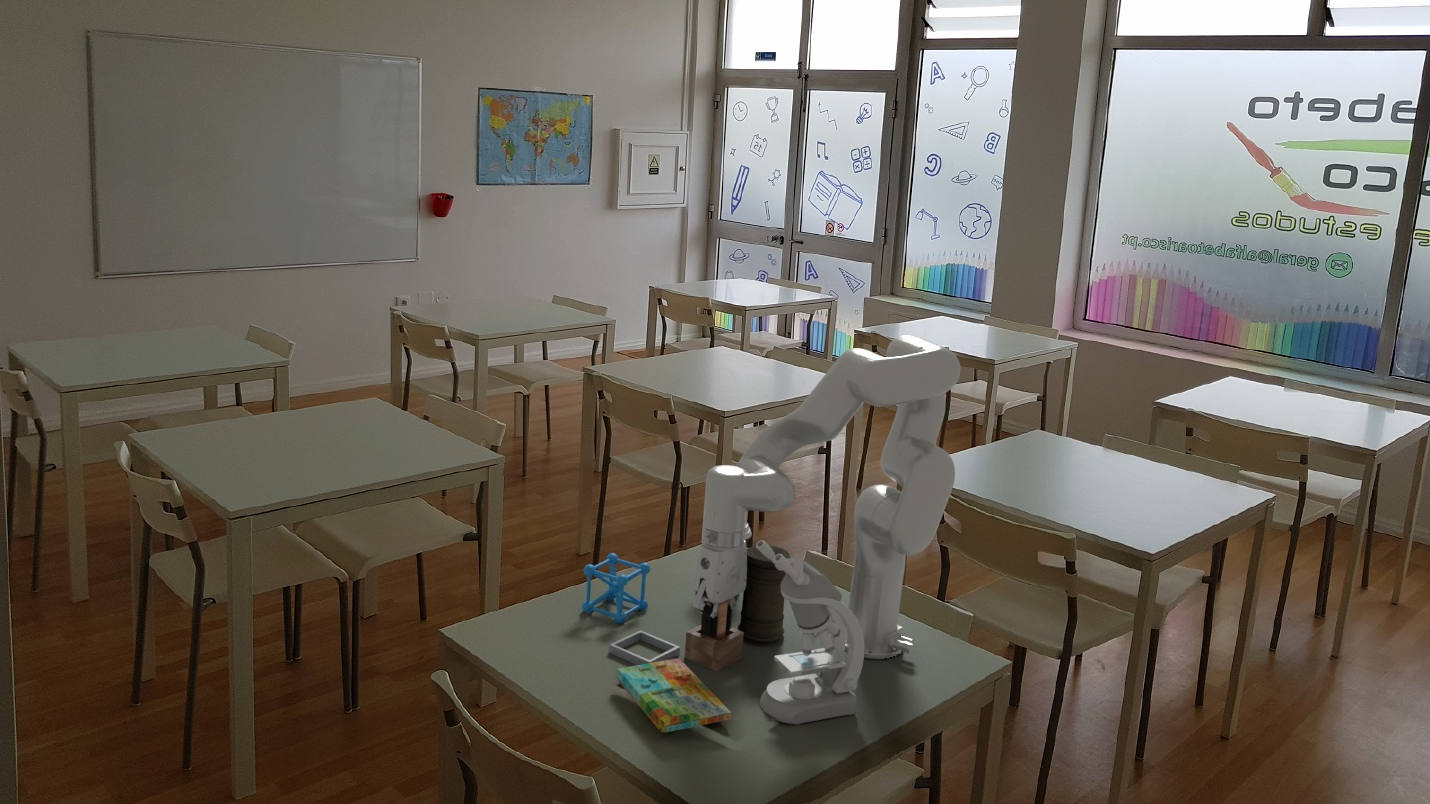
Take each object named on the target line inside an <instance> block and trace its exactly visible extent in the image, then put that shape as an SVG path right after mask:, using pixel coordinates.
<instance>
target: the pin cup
mask: <svg viewBox="0 0 1430 804" xmlns="http://www.w3.org/2000/svg"><path fill="white" fill-rule="evenodd" d="M743 636H744V632H742V631H739V630H738V628H734V627H732V626H731V629H730V630H728V631H727V630H726V631H725V637H724V638H723V639H721V640H719V641H717V640H715V639H712V638H710V637H707V636H706V635H705V634H702V633H701V624H699V625H698V626H694V627H693V628H692V629H689V630H687V631H686V634H685V647H684V658H685V659H688V660H689V661H692V662H694V663H696V664H699V665H701V666H703V667H705V668H708V669H711V670H713V671H715V672H719V671H720V670H722V669H724V668H726V667H728V666H730V665H731V664H734V663H735V662H737V661H738V660H741V659H742V656H743V647H744V646H743V645H744V642H743Z"/></svg>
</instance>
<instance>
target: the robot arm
mask: <svg viewBox="0 0 1430 804" xmlns="http://www.w3.org/2000/svg"><path fill="white" fill-rule="evenodd" d="M885 354H886V355H885V356H886V357H884V356H882V355H881V354H878V353H876V352H873V351H871V350H868V349H866V348H865V349H864V348H850V349H848V350H845V351H844V352H843V353H842V354H841V355H839V357H838V358H837V359H836V361H834V363H833V364H832V365H831V367H830V368H828V370H827V372H826V373H825V374H824V375H823V377H822V378H821V379H820V380H819V382H818V383H817V384H816V385H815V387H814V388H813V389H812V391H811V392H810V393H809V394H808V396H807V397H806V398H805V399H804V401H802V403H801V404H800V406H798V407H797V408H796V409H795V410H794V411H792V412H790V413H788V414H787V415H785V416H783V417H782V418H780V419H779V420H777V421H776V422H774V423H772V424H771V425H769V426H768V427H767V428H765V429H764V430H763V431H762V432H761V433H760V434H759V435H757V437H756V438H755V439H754V440H753V442H752V443H751V444H750V445H749V446H748V447H747V449H746V450H745V452H744V453H743V454H742V456H741V457H740V459H739V460H738V461H737V463H736V465H732V464H731V465H730V464H729V465H728V464H721V465H715V466H713V467H711V468H710V469H709V470H708V472H707V474H706V480H705V490H704V491H705V493H704V501H703V503H704V505H703V515H702V516H703V518H702V533H701V545H700V550H699V552H698V558H697V563H696V570H695V578H694V579H695V580H694V595H695V597H694V600H693V602H692V607H694V608H695V609H698V610H699V612H700V614H701V622H700V623H701V624H700V625H701V633H702V634H705V635H707V636H710V637H712V638H715V637H716V636H717V627H718V617H717V616H716V613H717V607H718V604H720V603H722V602H724V601H726V600H727V601H728V606H727V619H726V630H727V631H728V630H730V629H731V627H732V618H733V617H732V616H733V609H734V608H735V606H736V602H735V601H736V599H737V598H738V595H740V594H742V593H743V592H744V590H745V588H746V581H747V549H748V548H747V549H746V542H745V540H744V538H745V526H746V522H747V513H748V512H747V511H756V512H762V513H763V512H764V513H778V512H779V513H780V512H782V511H784V510H786V509H787V508H789V507H790V506H792V504H793V503H794V501H795V499H796V495H797V488H796V485H795V483H794V481H793V480H792V478H791V477H790V476H789V475H788V474H787V473H785V471H782V470H781V469H780V467H781V466H782V464H783V463H784V462H785V461H786V460H787V459H788V458H789V457H790V456H791V455H793V453H794V452H797V451H798V450H799V449H801V448H803V447H805V446H809V445H813V444H819V443H825V442H829V441H832V440H834V439H836V438H837V437H838V436H839V435H840V434H841V432H842V431H843V429H844V428H846V426H847V425H848V423H849V422H850V421H851V420H852V419H853V417H854V416H855V415H856V413H857V412H858V411H859V410H860V408H861V407H862V406H863V405H864V403H866V404H868V405H870V406H873V407H891V406H896V405H898V406H897V408H896V409H897V410H896V413H895V416H894V419H893V421H892V424H891V427H890V431H889V433H888V435H887V439H886V442H885V444H884V445H883V449H882V453H881V456H880V468H881V470H882V472H883V474H884V475H885V476H887V477H888V478H889V479H890V480H892V481H893V482H895V483H896V484H897V485H899V486H901V487H902V490H901V491H900V490H899V489H897V488H895V487H893V486H890V485H888V484H874V485H871V486H869V487H867V488H866V489H865V490H863V491H862V492H861V494H860V495H859V497H858V498H857V500H856V503H855V507H854V530H855V532H854V533H855V545H854V557H853V558H854V559H853V565H852V567H853V568H852V576H851V583H850V593H849V602H848V608H849V609H850V610H851V611H852V613H853V614H854V616H855V617H856V619H857V621H858V623H859V625H860V627H861V630H862V633H863V638H864V658H865V659H871V660H884V659H885V658H887V659H891V658H890V657H892V658H894V657H893V656H895V655H897V654H899V655H900V654H902V652H903V653H906V654H909V655H911V654H912V653H913V651H914V649H915V645H914V642H915V640H914V639H913V638H911V637H907V636H904V635H903V633H902V632H903V626H901V625H899V615H900V609H901V607H900V606H901V599H902V592H903V582H904V574H905V568H906V556H916V555H917V554H920V553H922V552H923V551H924V550H926V548H927V547H928V546H929V545H930V544H931V542H932V540H933V539H934V537H935V535H936V532H937V531H938V528H939V525H940V523H941V520H942V517H943V514H944V511H945V509H946V507H947V504H948V502H949V499H950V496H951V494H952V490H953V487H954V484H955V479H956V468H955V464H954V460H953V458H952V457H951V455H950V454H949V452H947V451H946V450H945V449H944V448H941V447H940V446H938V445H937V441H938V437H939V433H940V431H941V429H942V428H941V427H942V425H943V421H944V417H945V414H946V403H947V402H946V393H947V392H949V391H950V390H951V389H953V388H954V387H955V385H956V384H957V383H958V381H959V379H960V377H961V376H960V375H961V369H962V368H961V364H960V361H959V359H958V357H957V355H956V353H954V352H952V351H951V350H949V348H946V347H944V346H942V345H940V344H939V345H938V344H936V343H934V342H931V341H929V340H926V339H924V338H922V337H918V336H915V335H910V334H903V335H898V336H896V337H894V338H893V339H892V340H891V341H890V343H889V344H888V347H887V348H886V353H885ZM708 602H709V603H712V606H711V607H710V606H709V605H708ZM848 650H849V637H848V633H847V630H846V644H845V650H844V652H847V653H848ZM901 651H902V652H901ZM897 656H898V655H897ZM895 657H896V656H895ZM885 660H886V659H885Z"/></svg>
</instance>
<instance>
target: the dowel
mask: <svg viewBox="0 0 1430 804" xmlns="http://www.w3.org/2000/svg"><path fill="white" fill-rule="evenodd" d="M707 605H709V606H710V607H711V606H712V603H709V602H708V604H707ZM727 606H728V601H727V600H726V601H724V602H722V603H720V604H718V607H717V613H716V616H717V617H718V627H717V636H716V637H715V638H712V637H710V636H707V635H706V636H707V637H710V638H712V639H715V640H717V641H719V640H721V639H723V638H724V637H725V631H726V619H727Z"/></svg>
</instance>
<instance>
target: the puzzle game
mask: <svg viewBox="0 0 1430 804" xmlns="http://www.w3.org/2000/svg"><path fill="white" fill-rule="evenodd" d="M615 677H616V679H617V680H618V681H617V682H619V684H620V685H621V686H622V687H623V689H624V691H627V692H626V693H627V694H628V695H629V696H630V697H631V699H632V701H634V702H635V703H636V704H637V705H638V708H640V709H641V711H642V712H643V713H644V714H645V715H646V717H648V719H649V720H650V721H651V722H652V724H654V726H655V727H656V729H658V730H659V732H660V733H669V732H674V731H679V730H685V729H689V728H695V727H699V726H704V725H708V724H709V725H710V724H715V723H719V722H723V721H730V720H732V719H733V718H732V717H733V713H732V712H731V710H730V709H728V707H726V706H725V704H724V703H723V702H722V701H721V700H720V699H719V698H718V697H717V696H716V695H715V694H714V693H713V692H712V690H711V689H709V687H708V686H707V685H705V683H703V681H702V680H701V679H700V678H699V677H698V676H697V675H696V674H695V673H694V672H693V671H692V670H691V668H689V666H687V665H686V663H684V661H682V659H680V658H672V659H670V660H665V661H659V662H654V663H648V664H642V665H636V664H635V665H632V666H626V667H620V668H615Z"/></svg>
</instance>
